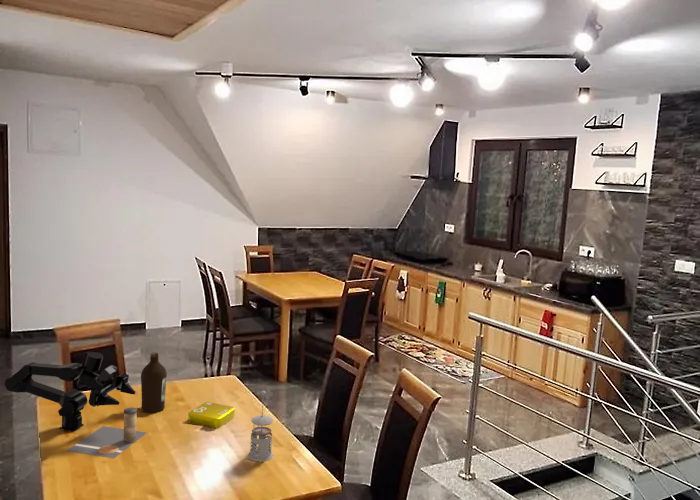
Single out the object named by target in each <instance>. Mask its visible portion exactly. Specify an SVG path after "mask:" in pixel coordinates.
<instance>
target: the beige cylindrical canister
mask: <svg viewBox="0 0 700 500" xmlns="http://www.w3.org/2000/svg"><path fill="white" fill-rule="evenodd" d="M137 415H138V408H137V407H126V408H124V409H123V429H124V442H125V443H132V442H135V441H136V431H137V418H138V417H137ZM136 442H137V441H136ZM136 442H135V443H136Z"/></svg>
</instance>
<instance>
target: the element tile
mask: <svg viewBox="0 0 700 500" xmlns="http://www.w3.org/2000/svg"><path fill="white" fill-rule="evenodd" d="M187 416H188V417H187V419H188V421H187V422H188V423H189V424H193V425H195V426H196V425H197V426H201V427H207V428H210V429H220V428H221V427H223V426H224V425H226V424H227V423H229V422H230V421H231V420H233V419H234V418H235V407H234V406H231V405H227V404H226V405H225V404H222V403H221V404H220V403H215V402H211V401H205V402H203V403H201V404H200V405H198V406H196V407H195V408H193V409H191V410H190V411H189V412H188V415H187ZM233 417H234V418H233ZM232 418H233V419H232ZM229 420H230V421H229Z"/></svg>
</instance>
